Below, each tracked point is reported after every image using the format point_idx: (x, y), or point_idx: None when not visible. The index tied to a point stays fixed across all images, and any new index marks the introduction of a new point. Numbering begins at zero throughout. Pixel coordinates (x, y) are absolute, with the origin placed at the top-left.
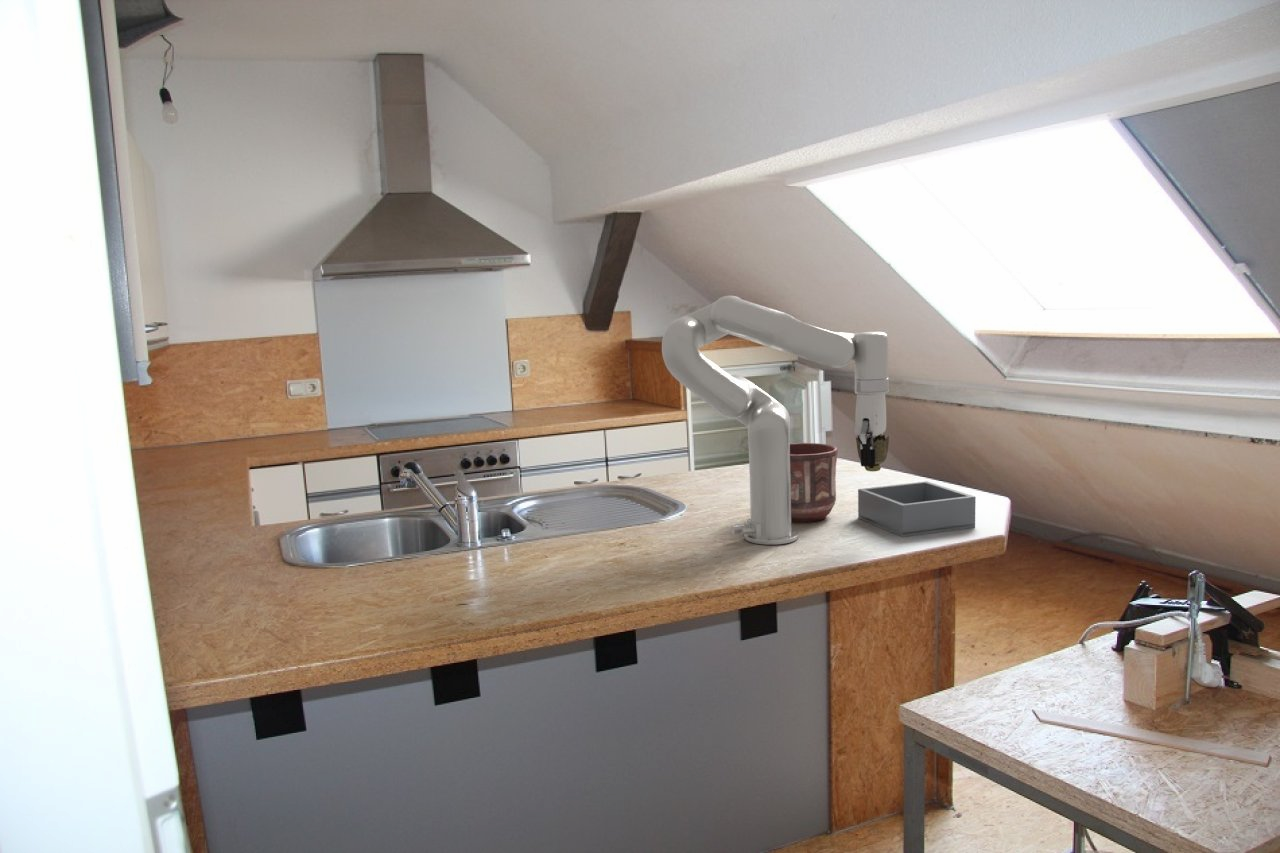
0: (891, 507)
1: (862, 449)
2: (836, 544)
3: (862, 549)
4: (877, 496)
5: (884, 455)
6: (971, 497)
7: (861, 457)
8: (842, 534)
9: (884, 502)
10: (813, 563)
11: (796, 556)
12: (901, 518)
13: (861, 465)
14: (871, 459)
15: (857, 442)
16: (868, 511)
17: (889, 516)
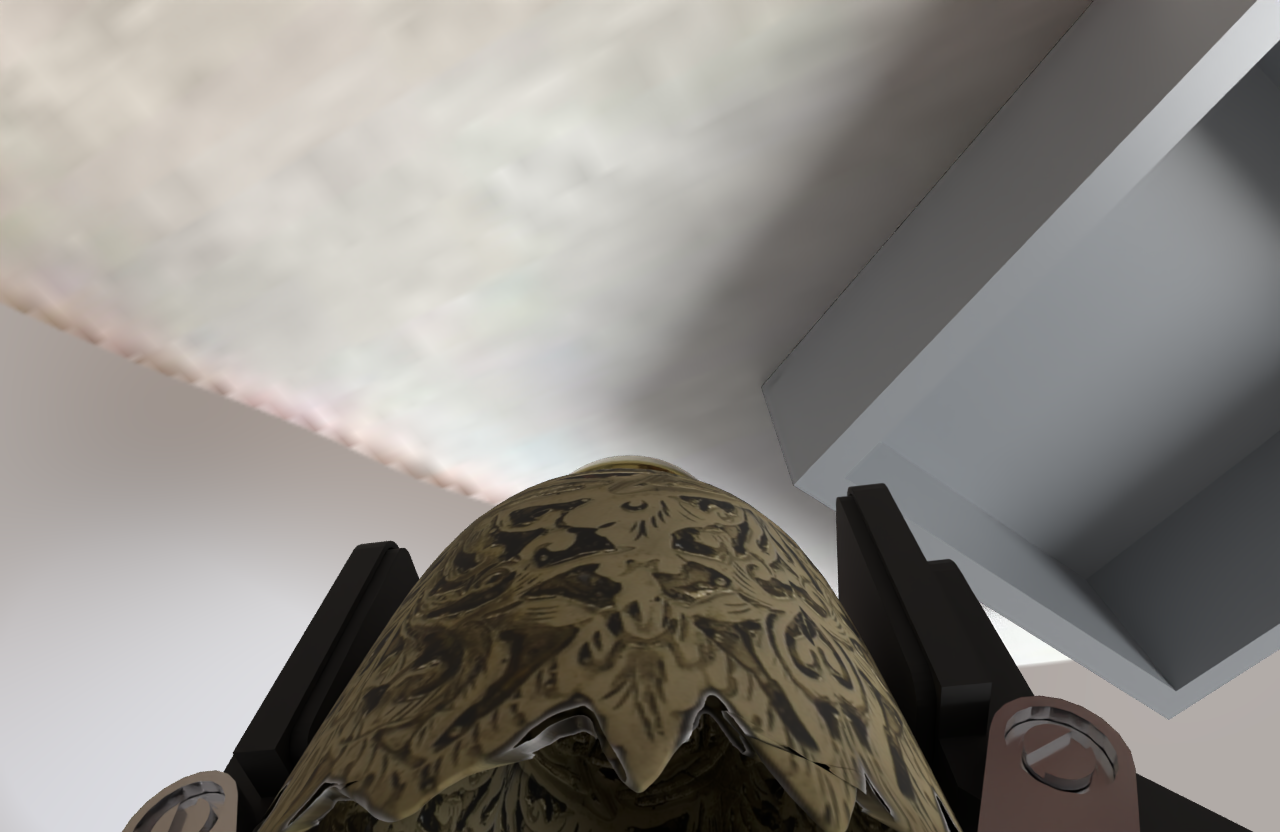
0: (879, 361)
1: (249, 773)
2: (415, 127)
3: (419, 307)
4: (1052, 211)
5: (582, 825)
6: (1149, 707)
7: (310, 638)
8: (653, 43)
9: (956, 292)
10: (7, 196)
11: (18, 25)
12: (786, 428)
13: (360, 550)
14: None
15: (305, 758)
16: (1086, 64)
17: (877, 314)
